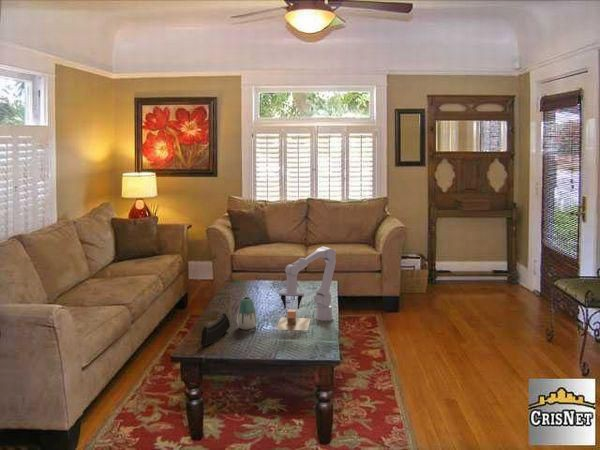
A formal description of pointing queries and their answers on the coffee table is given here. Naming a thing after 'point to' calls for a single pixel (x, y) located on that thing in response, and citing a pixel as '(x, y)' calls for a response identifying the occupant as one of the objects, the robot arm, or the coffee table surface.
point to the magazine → (215, 330)
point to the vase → (246, 314)
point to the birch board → (300, 325)
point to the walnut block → (291, 321)
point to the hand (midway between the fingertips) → (291, 308)
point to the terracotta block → (291, 313)
